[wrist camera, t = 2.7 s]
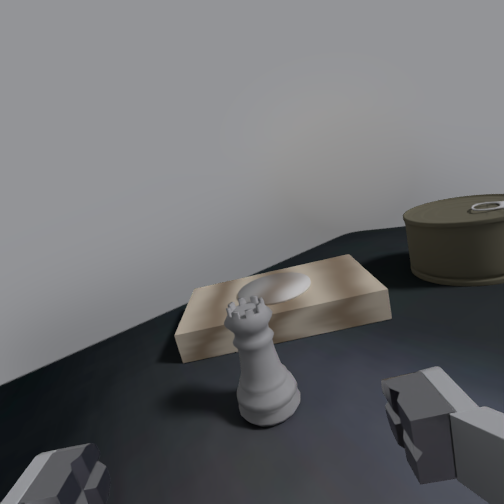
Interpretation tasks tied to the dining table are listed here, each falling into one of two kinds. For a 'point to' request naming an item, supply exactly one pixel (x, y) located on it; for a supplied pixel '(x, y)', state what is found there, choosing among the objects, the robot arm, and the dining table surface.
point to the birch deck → (285, 305)
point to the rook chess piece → (260, 366)
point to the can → (458, 240)
